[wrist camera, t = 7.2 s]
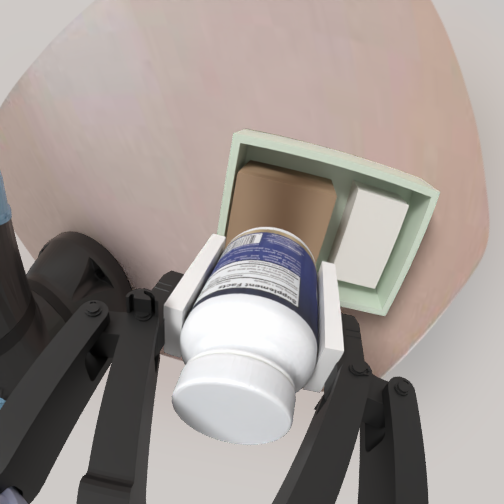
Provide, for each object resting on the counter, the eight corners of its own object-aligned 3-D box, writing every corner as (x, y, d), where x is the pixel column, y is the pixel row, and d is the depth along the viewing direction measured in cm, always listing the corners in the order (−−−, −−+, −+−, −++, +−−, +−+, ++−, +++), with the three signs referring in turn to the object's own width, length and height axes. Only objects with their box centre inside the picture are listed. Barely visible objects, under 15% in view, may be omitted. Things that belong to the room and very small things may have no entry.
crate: (224, 250, 30) (211, 274, 26) (245, 128, 24) (233, 133, 20) (376, 288, 29) (385, 316, 25) (420, 178, 23) (440, 192, 19)
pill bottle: (302, 315, 18) (287, 463, 10) (217, 294, 19) (155, 428, 10) (329, 237, 16) (342, 391, 7) (230, 213, 16) (144, 341, 7)
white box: (327, 260, 28) (328, 277, 25) (353, 179, 24) (358, 189, 21) (369, 271, 27) (374, 288, 25) (398, 194, 24) (409, 205, 21)
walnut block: (236, 233, 28) (223, 258, 24) (250, 159, 25) (237, 172, 20) (310, 251, 28) (310, 280, 23) (331, 179, 24) (336, 196, 20)
